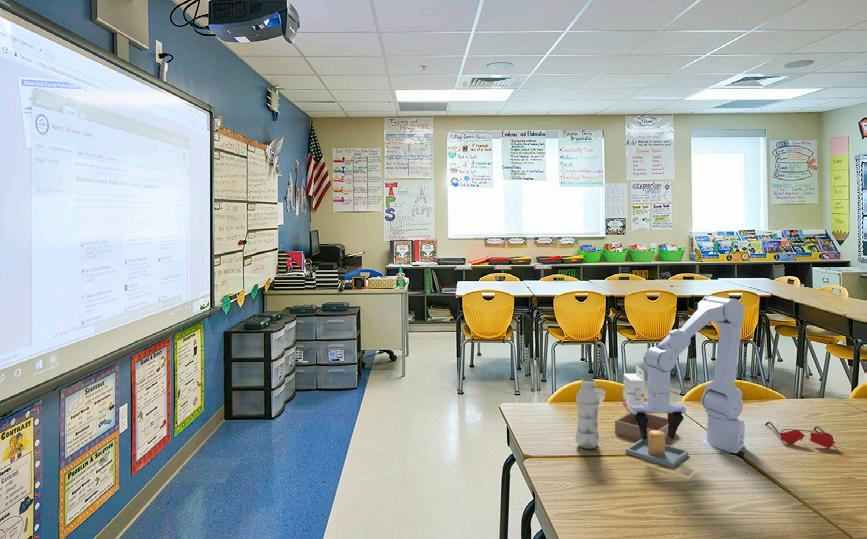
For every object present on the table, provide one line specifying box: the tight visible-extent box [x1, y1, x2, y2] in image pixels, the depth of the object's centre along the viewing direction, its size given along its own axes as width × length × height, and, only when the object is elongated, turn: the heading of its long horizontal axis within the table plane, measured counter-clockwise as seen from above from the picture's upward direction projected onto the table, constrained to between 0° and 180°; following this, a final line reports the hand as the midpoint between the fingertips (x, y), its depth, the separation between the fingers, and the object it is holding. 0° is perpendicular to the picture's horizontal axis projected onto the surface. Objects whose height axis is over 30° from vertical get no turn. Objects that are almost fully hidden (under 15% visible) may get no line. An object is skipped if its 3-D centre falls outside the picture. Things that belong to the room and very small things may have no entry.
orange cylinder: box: [648, 430, 667, 457], centre depth 149 cm, size 4×4×6 cm
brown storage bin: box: [614, 411, 670, 441], centre depth 164 cm, size 13×13×4 cm
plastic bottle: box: [575, 377, 600, 450], centre depth 155 cm, size 6×7×20 cm
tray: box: [625, 438, 689, 469], centre depth 149 cm, size 13×11×2 cm
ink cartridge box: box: [622, 365, 646, 412], centre depth 187 cm, size 9×5×15 cm, turn 179°
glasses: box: [764, 421, 836, 449], centre depth 163 cm, size 14×16×5 cm
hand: (657, 438), depth 149 cm, fingers open, 7 cm apart
